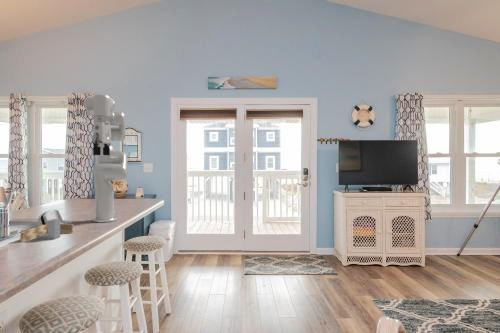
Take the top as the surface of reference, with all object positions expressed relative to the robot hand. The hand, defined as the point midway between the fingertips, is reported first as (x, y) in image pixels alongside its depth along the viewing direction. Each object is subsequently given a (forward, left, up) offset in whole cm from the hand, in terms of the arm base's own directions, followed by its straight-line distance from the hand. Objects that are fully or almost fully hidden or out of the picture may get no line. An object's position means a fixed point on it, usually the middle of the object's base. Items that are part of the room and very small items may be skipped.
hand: (101, 155), depth 164 cm
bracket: (+21, -13, -36) cm, 44 cm away
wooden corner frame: (+19, -15, -36) cm, 44 cm away
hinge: (+2, -24, -37) cm, 44 cm away
